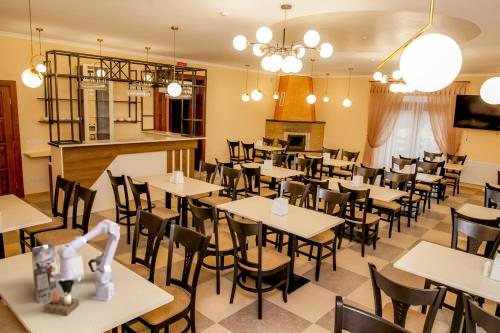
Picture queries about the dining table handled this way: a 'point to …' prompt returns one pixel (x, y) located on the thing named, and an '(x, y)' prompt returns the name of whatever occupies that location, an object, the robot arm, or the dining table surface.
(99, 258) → the coffeepot
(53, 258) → the juice carton
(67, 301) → the cream plug
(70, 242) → the robot arm
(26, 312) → the dining table surface
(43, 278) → the coffee box
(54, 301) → the rust plug
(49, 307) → the socket board
